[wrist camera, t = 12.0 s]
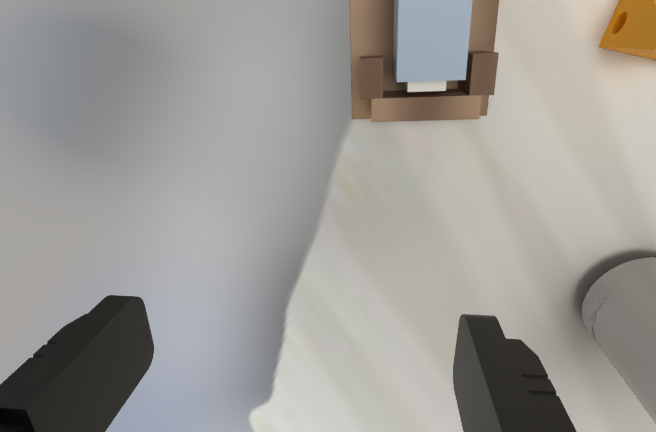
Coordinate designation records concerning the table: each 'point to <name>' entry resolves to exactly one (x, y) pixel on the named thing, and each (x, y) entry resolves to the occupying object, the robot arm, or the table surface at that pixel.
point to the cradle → (390, 96)
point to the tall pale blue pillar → (430, 42)
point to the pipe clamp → (632, 29)
